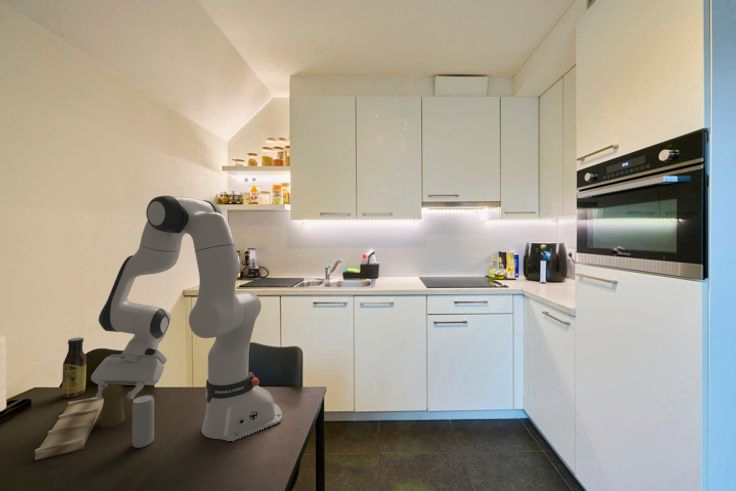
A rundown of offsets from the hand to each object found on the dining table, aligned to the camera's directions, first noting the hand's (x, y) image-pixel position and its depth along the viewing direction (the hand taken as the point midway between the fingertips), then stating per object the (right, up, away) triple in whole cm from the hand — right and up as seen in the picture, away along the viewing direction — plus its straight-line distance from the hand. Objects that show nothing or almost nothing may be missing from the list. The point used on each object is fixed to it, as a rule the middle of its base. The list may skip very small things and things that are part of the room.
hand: (114, 398), depth 97 cm
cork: (0, -7, -1) cm, 7 cm away
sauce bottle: (-27, -7, +17) cm, 33 cm away
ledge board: (-9, -7, -3) cm, 12 cm away
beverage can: (+16, -7, -11) cm, 21 cm away
